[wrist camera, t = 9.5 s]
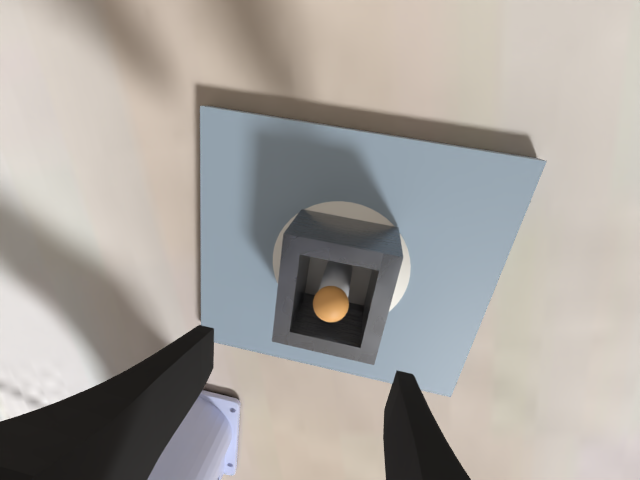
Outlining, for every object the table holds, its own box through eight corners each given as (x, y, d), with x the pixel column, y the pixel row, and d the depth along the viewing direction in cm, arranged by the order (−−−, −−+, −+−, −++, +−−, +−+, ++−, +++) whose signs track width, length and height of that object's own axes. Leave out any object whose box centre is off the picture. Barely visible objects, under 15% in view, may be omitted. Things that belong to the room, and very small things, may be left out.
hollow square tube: (374, 320, 21) (374, 365, 17) (289, 301, 22) (271, 341, 18) (398, 227, 19) (403, 257, 15) (301, 208, 19) (283, 233, 15)
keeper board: (447, 385, 23) (468, 469, 18) (207, 330, 25) (160, 392, 20) (537, 158, 17) (610, 182, 12) (208, 105, 19) (140, 106, 13)
